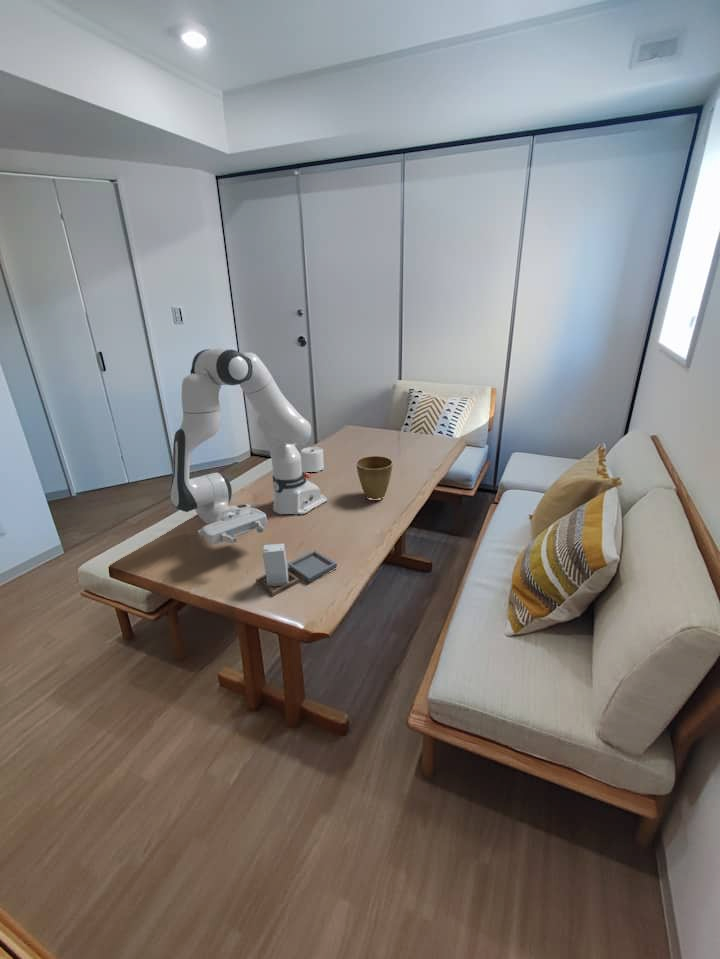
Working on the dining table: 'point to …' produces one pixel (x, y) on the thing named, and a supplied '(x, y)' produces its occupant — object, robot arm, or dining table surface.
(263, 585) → the brown wooden square frame
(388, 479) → the plant pot
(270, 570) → the skincare box
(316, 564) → the tray
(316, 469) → the toilet tissue
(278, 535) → the dining table surface
